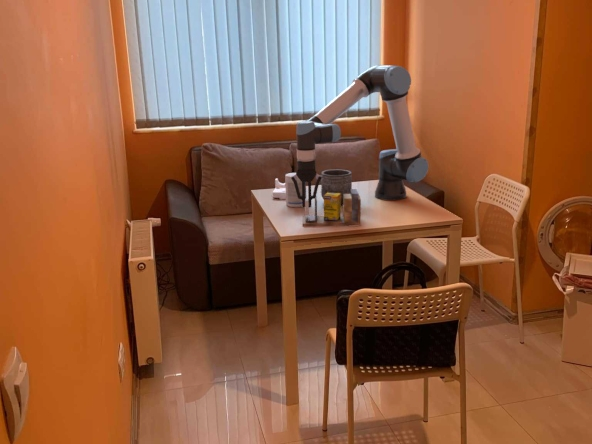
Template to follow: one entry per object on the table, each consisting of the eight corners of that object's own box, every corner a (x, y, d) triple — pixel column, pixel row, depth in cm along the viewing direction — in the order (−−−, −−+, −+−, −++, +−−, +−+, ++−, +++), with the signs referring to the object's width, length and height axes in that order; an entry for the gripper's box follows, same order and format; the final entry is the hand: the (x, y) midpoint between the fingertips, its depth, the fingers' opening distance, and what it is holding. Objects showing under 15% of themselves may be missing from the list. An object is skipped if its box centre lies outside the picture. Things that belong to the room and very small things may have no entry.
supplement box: (323, 220, 248) (323, 195, 245) (327, 216, 253) (327, 192, 250) (337, 221, 246) (337, 196, 243) (340, 217, 252) (340, 192, 248)
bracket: (276, 192, 302) (275, 178, 299) (290, 192, 301) (289, 178, 299) (272, 199, 289) (272, 184, 287) (287, 199, 288) (286, 184, 286)
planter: (323, 199, 287) (323, 168, 282) (353, 200, 284) (353, 169, 280) (319, 206, 274) (318, 175, 269) (349, 207, 271) (349, 176, 266)
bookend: (316, 216, 254) (316, 195, 251) (317, 221, 246) (316, 200, 243) (305, 216, 254) (305, 196, 251) (305, 221, 246) (305, 200, 243)
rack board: (358, 217, 255) (358, 188, 251) (360, 225, 245) (360, 194, 241) (302, 218, 256) (302, 189, 252) (302, 226, 245) (301, 195, 241)
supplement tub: (310, 205, 276) (309, 174, 272) (293, 209, 271) (292, 177, 267) (298, 201, 284) (298, 171, 279) (282, 204, 279) (281, 174, 274)
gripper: (321, 157, 246) (322, 211, 253) (290, 158, 246) (291, 212, 253) (322, 161, 239) (322, 216, 246) (290, 161, 239) (291, 217, 246)
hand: (307, 214), depth 249 cm, fingers closed
